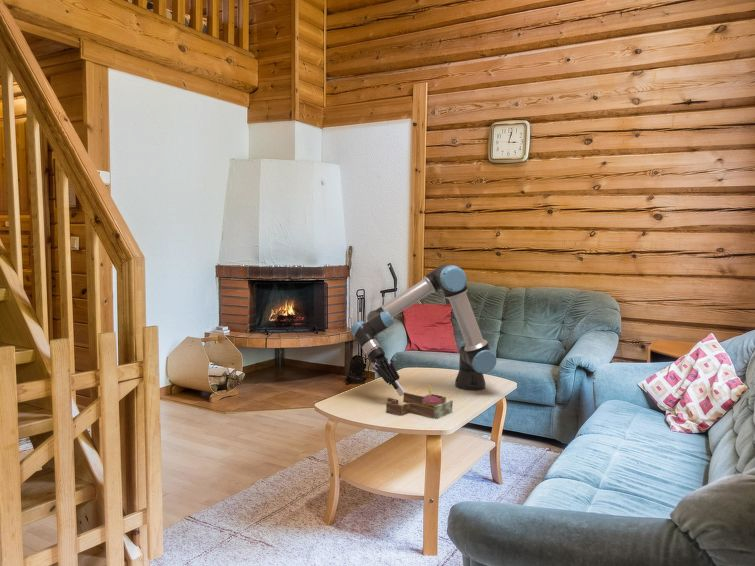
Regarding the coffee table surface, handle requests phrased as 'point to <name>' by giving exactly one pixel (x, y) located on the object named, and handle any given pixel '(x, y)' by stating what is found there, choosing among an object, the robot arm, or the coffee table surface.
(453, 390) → the coffee table surface
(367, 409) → the coffee table surface
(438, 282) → the robot arm
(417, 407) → the trap lane
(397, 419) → the coffee table surface
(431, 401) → the cupcake
